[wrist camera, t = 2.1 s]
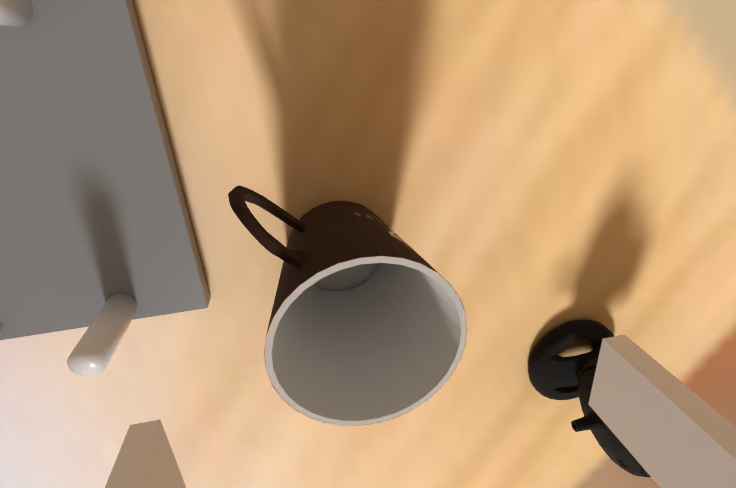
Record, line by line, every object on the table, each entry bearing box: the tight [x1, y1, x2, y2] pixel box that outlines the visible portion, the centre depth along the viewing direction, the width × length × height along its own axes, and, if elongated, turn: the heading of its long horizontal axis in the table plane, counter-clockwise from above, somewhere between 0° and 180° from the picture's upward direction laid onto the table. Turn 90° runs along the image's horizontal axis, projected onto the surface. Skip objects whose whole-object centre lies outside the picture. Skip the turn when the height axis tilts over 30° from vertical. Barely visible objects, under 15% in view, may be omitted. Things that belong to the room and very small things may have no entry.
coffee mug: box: [228, 186, 467, 426], centre depth 22 cm, size 12×9×10 cm
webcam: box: [528, 320, 651, 477], centre depth 30 cm, size 8×8×10 cm
